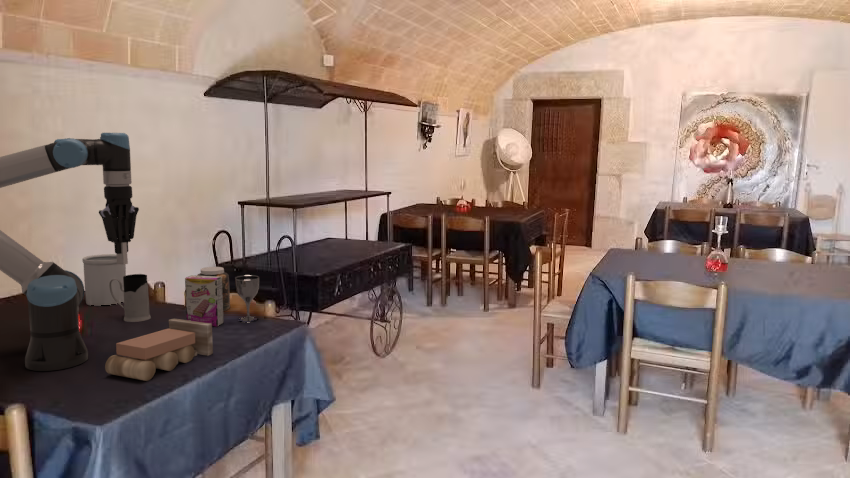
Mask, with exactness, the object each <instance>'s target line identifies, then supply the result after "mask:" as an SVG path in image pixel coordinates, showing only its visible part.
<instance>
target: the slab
mask: <svg viewBox="0 0 850 478" xmlns="http://www.w3.org/2000/svg"><path fill="white" fill-rule="evenodd" d="M194 343H195V333H194V332H187V331H181V330H174V329H169V328H165V329H161V330H159V331H155V332H152V333H151V332H150V333H148V334H144V335H141V336H137V337H134V338H130V339H127V340H123V341H120V342H116V343H115V347H116V348H115V349H116V353H115V354H116V355H118V356H123V357H133V358H138V359H144V360H146V359H149V358H152V357H155V356H158V355H161V354H164V353H167V352H170V351H173V350H176V349H179V348H182V347H185V346H188V345H191V344H194Z"/></svg>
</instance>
